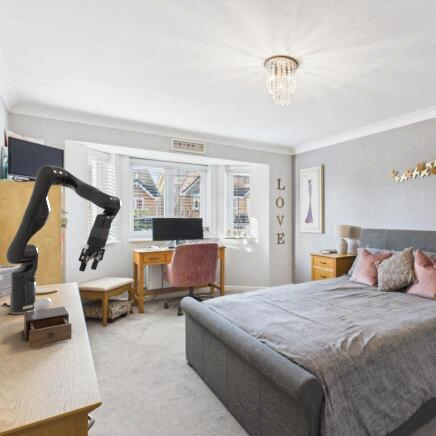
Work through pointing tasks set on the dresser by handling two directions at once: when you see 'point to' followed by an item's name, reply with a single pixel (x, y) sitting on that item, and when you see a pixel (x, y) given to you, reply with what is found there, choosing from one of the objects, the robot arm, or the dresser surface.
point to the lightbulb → (42, 304)
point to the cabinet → (43, 317)
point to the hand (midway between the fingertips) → (87, 270)
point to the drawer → (49, 331)
